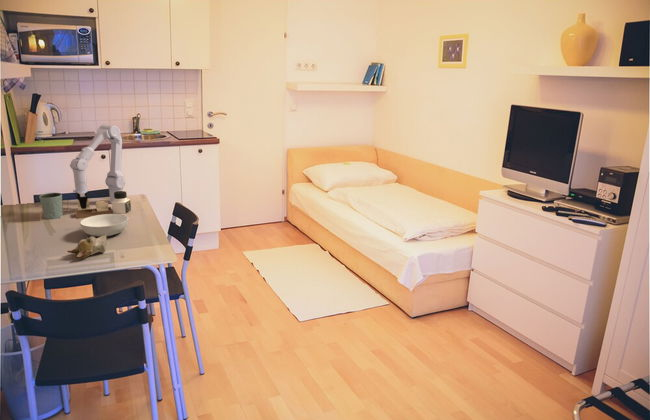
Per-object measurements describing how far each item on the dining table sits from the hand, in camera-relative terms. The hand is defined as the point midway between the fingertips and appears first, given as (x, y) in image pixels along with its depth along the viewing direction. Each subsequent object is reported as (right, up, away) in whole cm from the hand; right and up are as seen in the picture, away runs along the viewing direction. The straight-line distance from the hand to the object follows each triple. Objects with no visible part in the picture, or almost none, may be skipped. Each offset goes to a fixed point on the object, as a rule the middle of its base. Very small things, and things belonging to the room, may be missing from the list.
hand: (83, 206), depth 272 cm
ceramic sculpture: (+29, -21, -57) cm, 67 cm away
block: (+12, -3, -3) cm, 13 cm away
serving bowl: (+25, -13, -31) cm, 42 cm away
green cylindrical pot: (-11, -6, -9) cm, 15 cm away
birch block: (0, -2, +1) cm, 3 cm away
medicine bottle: (+20, -4, 0) cm, 21 cm away
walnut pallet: (+8, -5, -5) cm, 10 cm away
